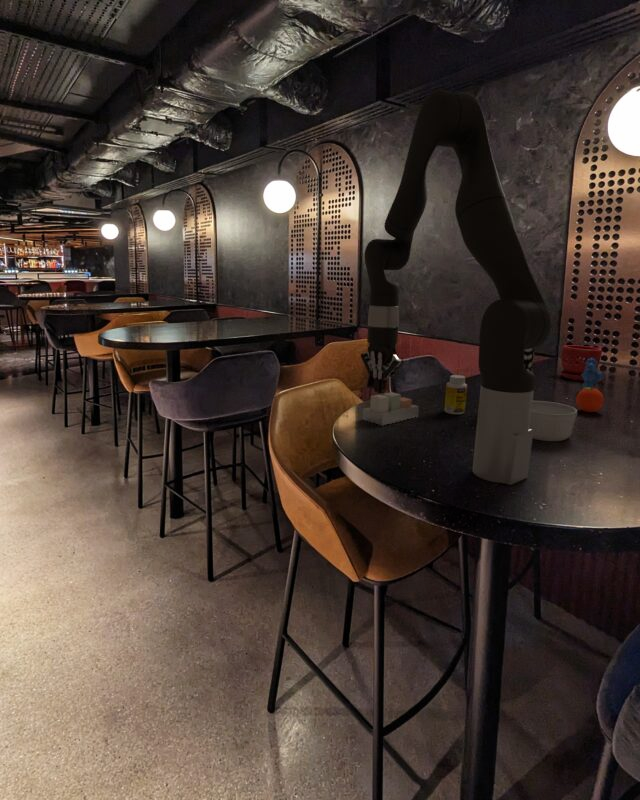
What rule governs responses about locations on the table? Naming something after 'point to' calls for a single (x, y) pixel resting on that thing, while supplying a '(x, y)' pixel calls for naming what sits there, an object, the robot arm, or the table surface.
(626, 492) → the table surface
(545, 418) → the ramekin
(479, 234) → the robot arm
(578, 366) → the plant pot
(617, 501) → the table surface
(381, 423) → the keypad frame
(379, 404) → the key ivory
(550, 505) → the table surface
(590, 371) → the grapes
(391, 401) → the key sage
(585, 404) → the clementine
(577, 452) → the table surface
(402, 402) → the key terracotta
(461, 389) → the supplement bottle
